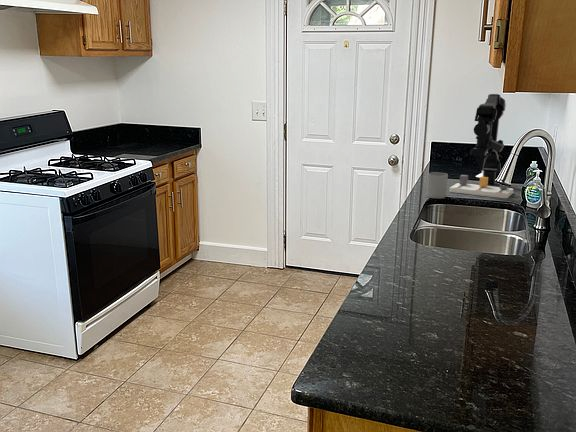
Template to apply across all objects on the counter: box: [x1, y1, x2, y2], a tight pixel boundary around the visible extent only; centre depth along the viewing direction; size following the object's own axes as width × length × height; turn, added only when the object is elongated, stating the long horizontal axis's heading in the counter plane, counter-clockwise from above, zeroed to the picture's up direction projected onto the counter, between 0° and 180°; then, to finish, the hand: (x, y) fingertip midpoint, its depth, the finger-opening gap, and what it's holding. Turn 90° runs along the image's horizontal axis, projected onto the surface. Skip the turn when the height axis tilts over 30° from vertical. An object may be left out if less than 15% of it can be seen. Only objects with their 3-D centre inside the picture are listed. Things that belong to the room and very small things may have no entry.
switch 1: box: [458, 174, 469, 185], centre depth 257 cm, size 3×3×4 cm
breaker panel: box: [448, 182, 514, 199], centre depth 251 cm, size 13×25×2 cm, turn 57°
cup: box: [426, 171, 449, 199], centre depth 242 cm, size 8×8×10 cm
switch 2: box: [499, 184, 509, 189], centre depth 247 cm, size 3×3×4 cm
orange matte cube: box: [478, 177, 489, 187], centre depth 252 cm, size 3×3×4 cm
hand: (481, 169), depth 247 cm, fingers closed
